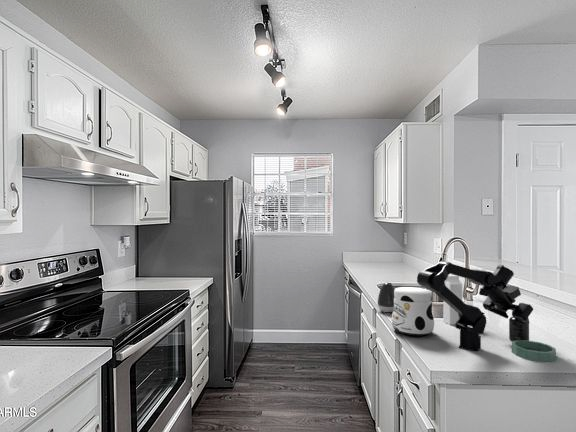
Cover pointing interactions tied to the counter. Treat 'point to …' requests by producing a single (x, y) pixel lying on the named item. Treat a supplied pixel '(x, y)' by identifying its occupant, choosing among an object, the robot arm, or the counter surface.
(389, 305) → the black canister
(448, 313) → the milk
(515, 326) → the supplement bottle
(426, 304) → the milk container
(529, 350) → the cup
